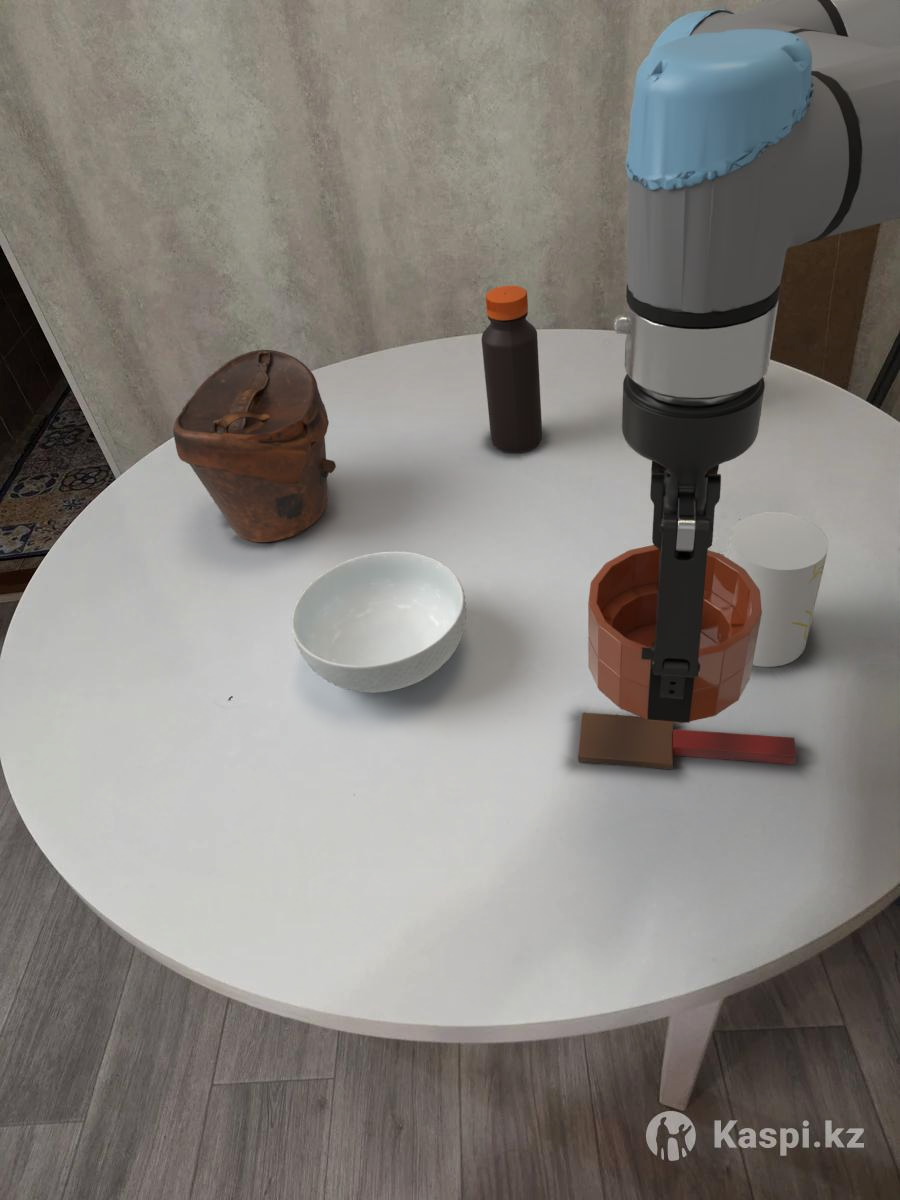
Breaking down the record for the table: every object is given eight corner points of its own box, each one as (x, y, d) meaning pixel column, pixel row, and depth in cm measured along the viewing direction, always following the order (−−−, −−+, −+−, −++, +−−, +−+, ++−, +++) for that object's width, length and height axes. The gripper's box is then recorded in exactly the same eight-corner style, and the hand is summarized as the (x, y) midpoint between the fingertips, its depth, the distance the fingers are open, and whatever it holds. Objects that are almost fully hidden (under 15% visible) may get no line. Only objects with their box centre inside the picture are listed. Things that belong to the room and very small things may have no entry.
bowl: (744, 618, 66) (756, 547, 61) (752, 734, 58) (766, 662, 53) (595, 610, 68) (595, 541, 63) (583, 720, 60) (582, 650, 55)
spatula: (790, 732, 75) (792, 723, 75) (796, 779, 72) (798, 770, 71) (582, 717, 79) (582, 709, 78) (578, 762, 76) (577, 753, 75)
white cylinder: (811, 668, 80) (835, 571, 72) (719, 664, 82) (733, 568, 74) (800, 609, 86) (822, 512, 78) (715, 606, 88) (728, 511, 80)
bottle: (497, 425, 118) (485, 281, 105) (546, 427, 116) (540, 281, 103) (486, 452, 113) (471, 306, 100) (536, 455, 111) (528, 306, 98)
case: (227, 583, 99) (177, 450, 87) (193, 497, 114) (146, 372, 102) (371, 531, 104) (342, 398, 92) (321, 454, 118) (290, 330, 106)
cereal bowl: (456, 586, 95) (448, 535, 90) (486, 697, 82) (479, 645, 78) (302, 616, 94) (287, 567, 89) (310, 734, 81) (292, 684, 77)
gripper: (633, 284, 56) (624, 545, 71) (609, 500, 39) (604, 783, 54) (754, 281, 55) (720, 549, 69) (783, 504, 38) (730, 796, 52)
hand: (669, 652), depth 62 cm, fingers closed on bowl, 11 cm apart
